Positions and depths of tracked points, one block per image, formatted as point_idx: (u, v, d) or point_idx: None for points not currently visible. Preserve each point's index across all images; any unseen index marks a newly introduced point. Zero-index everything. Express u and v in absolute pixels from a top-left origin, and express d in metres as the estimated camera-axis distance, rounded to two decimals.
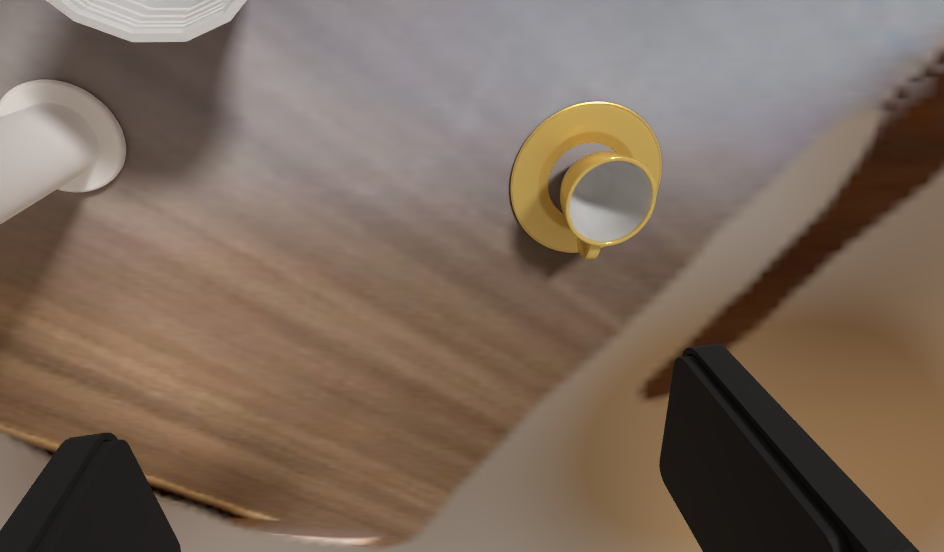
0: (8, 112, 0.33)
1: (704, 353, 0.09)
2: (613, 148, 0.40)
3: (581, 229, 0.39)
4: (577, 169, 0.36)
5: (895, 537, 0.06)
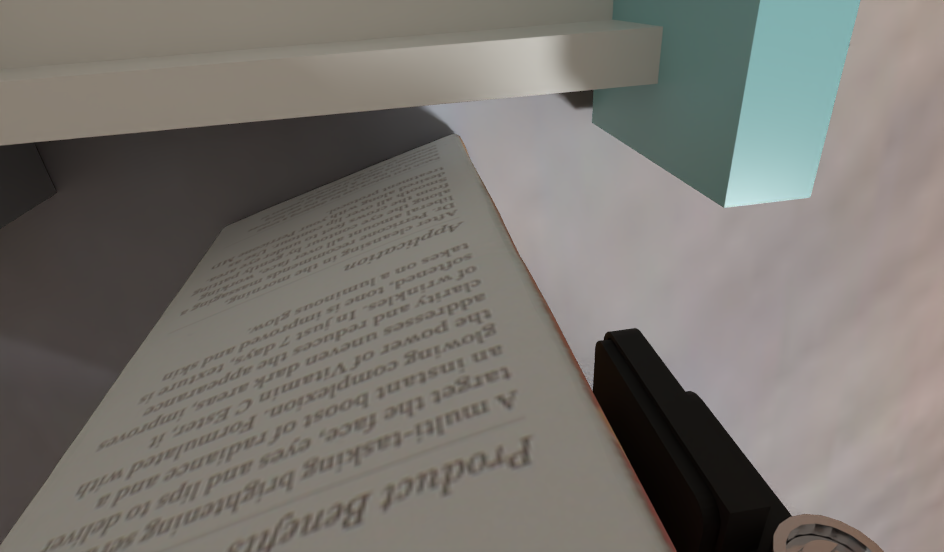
0: None
1: (619, 337, 0.09)
2: None
3: None
4: None
5: (755, 496, 0.06)
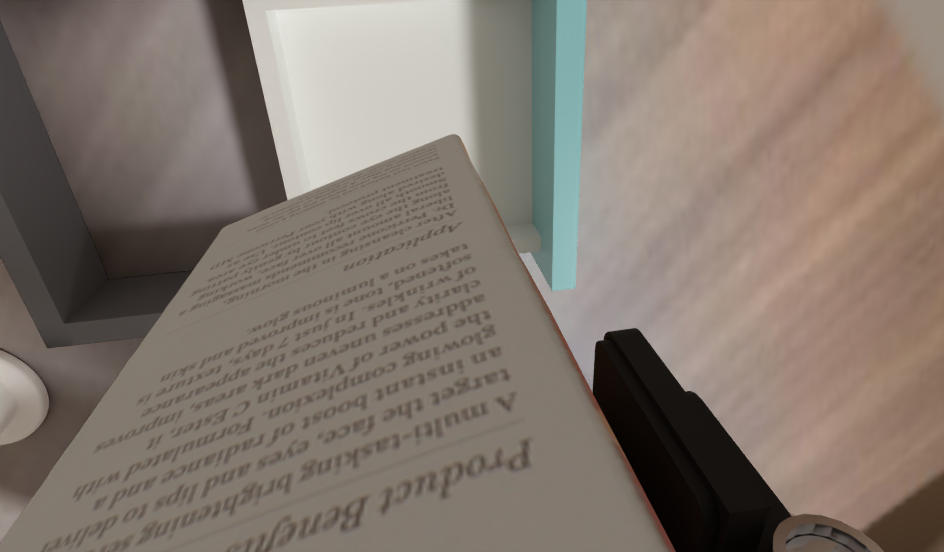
0: None
1: (619, 336, 0.09)
2: None
3: None
4: None
5: (755, 496, 0.06)
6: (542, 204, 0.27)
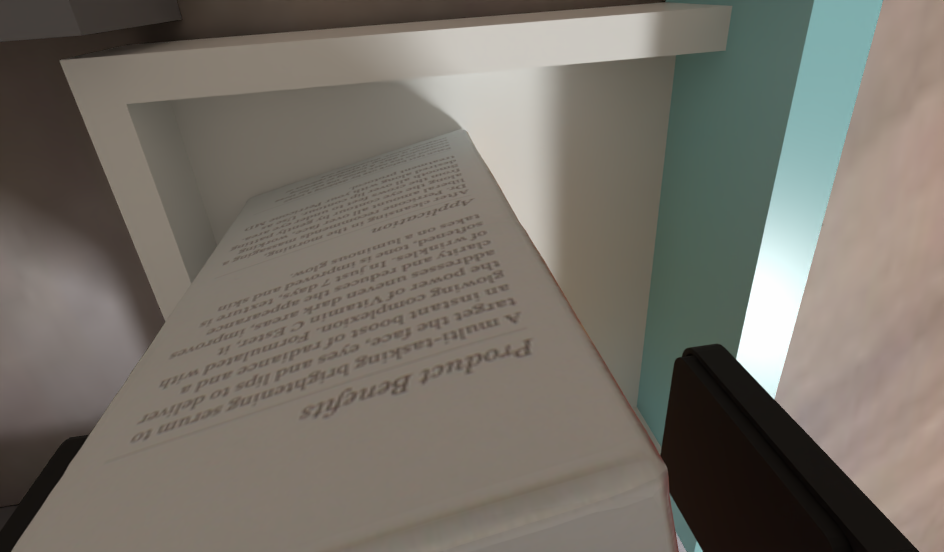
0: None
1: (704, 353, 0.09)
2: None
3: None
4: None
5: (895, 536, 0.06)
6: None
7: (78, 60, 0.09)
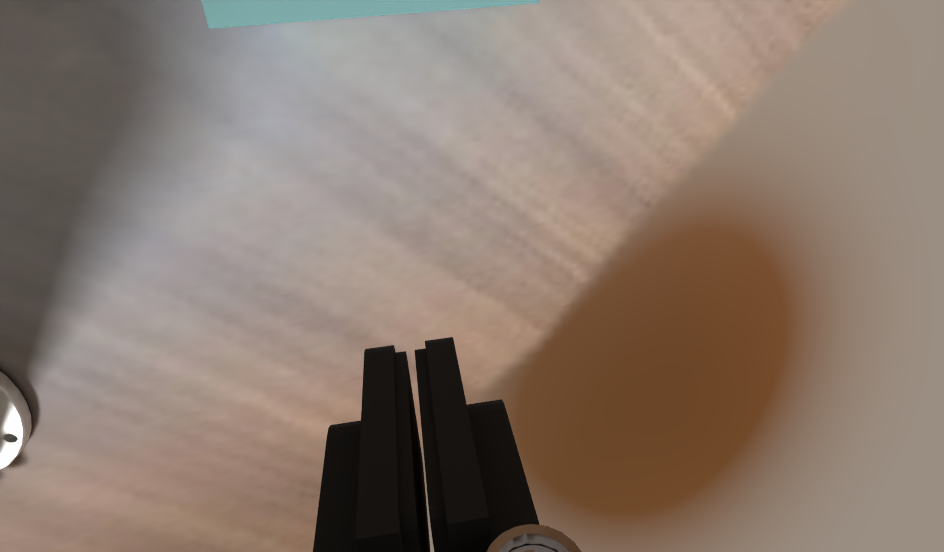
0: None
1: (430, 346, 0.09)
2: None
3: None
4: None
5: (479, 507, 0.06)
6: None
7: None
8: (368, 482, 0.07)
